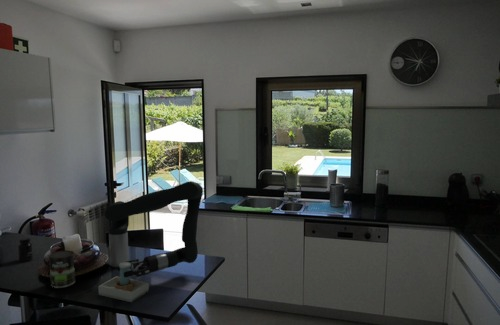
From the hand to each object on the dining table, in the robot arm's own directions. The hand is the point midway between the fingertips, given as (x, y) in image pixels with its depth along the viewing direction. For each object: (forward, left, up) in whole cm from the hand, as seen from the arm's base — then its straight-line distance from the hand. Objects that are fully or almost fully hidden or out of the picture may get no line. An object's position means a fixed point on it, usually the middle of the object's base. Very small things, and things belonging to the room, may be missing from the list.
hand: (120, 271), depth 156 cm
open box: (+1, +1, -10) cm, 10 cm away
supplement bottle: (-75, +11, -10) cm, 77 cm away
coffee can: (-32, -2, -10) cm, 34 cm away
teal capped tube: (+1, +1, -9) cm, 9 cm away
